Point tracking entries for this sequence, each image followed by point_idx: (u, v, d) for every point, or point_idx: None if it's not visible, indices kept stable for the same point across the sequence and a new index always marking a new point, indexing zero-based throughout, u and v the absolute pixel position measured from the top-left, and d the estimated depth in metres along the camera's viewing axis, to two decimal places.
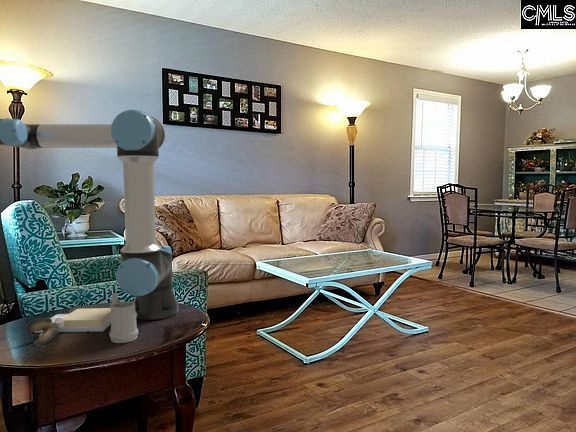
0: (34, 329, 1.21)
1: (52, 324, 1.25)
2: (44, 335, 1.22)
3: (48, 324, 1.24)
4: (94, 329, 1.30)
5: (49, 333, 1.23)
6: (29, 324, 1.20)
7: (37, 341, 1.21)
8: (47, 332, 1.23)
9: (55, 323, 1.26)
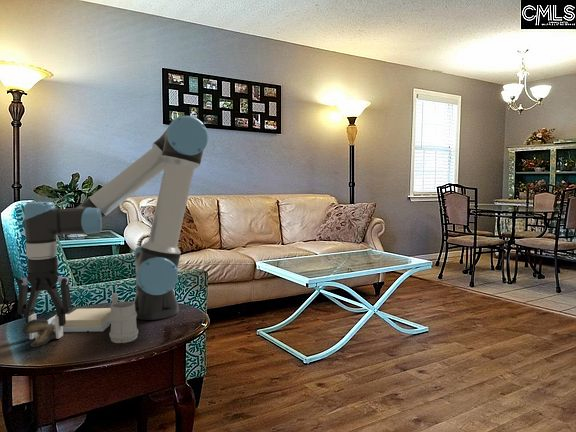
0: (30, 331, 1.20)
1: (49, 325, 1.24)
2: (41, 337, 1.20)
3: (45, 325, 1.23)
4: (94, 329, 1.30)
5: (46, 334, 1.21)
6: (26, 326, 1.19)
7: (34, 343, 1.19)
8: (44, 333, 1.21)
9: (52, 324, 1.24)
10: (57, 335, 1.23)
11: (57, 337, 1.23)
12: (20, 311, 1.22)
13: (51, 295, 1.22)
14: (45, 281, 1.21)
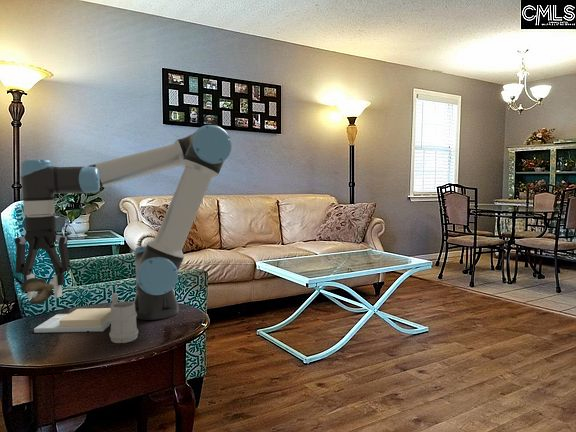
0: (29, 289, 1.19)
1: (47, 285, 1.23)
2: (39, 295, 1.19)
3: (43, 285, 1.22)
4: (94, 329, 1.30)
5: (45, 293, 1.20)
6: (24, 284, 1.18)
7: (32, 301, 1.18)
8: (42, 292, 1.20)
9: (50, 284, 1.24)
10: (56, 294, 1.22)
11: (56, 296, 1.22)
12: (18, 270, 1.21)
13: (49, 254, 1.21)
14: (43, 239, 1.20)
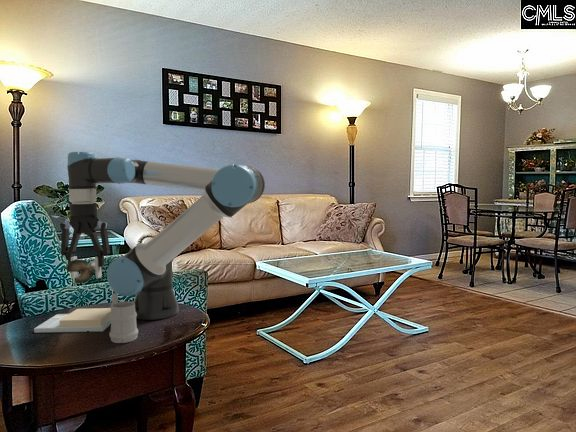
0: (73, 269, 1.31)
1: (89, 266, 1.35)
2: (83, 275, 1.31)
3: (85, 266, 1.34)
4: (94, 329, 1.30)
5: (87, 273, 1.32)
6: (69, 264, 1.30)
7: (77, 280, 1.30)
8: (85, 272, 1.32)
9: (91, 265, 1.35)
10: (97, 275, 1.34)
11: (97, 277, 1.34)
12: (63, 252, 1.33)
13: (91, 238, 1.33)
14: (86, 224, 1.32)
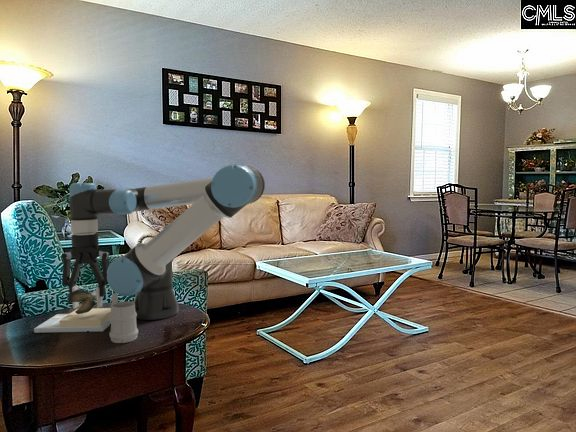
0: (75, 300, 1.32)
1: (90, 296, 1.36)
2: (84, 305, 1.32)
3: (87, 296, 1.35)
4: (94, 329, 1.30)
5: (88, 303, 1.33)
6: (71, 295, 1.31)
7: (78, 310, 1.31)
8: (86, 303, 1.33)
9: (92, 295, 1.36)
10: (98, 305, 1.35)
11: (98, 306, 1.35)
12: (64, 282, 1.34)
13: (93, 268, 1.34)
14: (88, 255, 1.33)
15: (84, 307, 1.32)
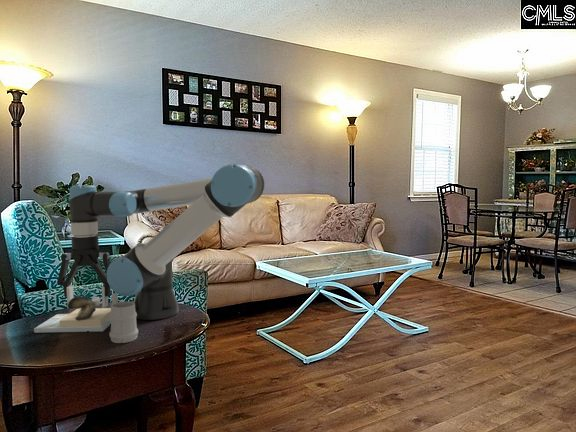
0: (75, 306, 1.32)
1: (90, 302, 1.36)
2: (84, 311, 1.32)
3: (86, 302, 1.35)
4: (94, 329, 1.30)
5: (88, 310, 1.33)
6: (70, 302, 1.31)
7: (78, 317, 1.31)
8: (86, 309, 1.33)
9: (92, 301, 1.36)
10: (103, 304, 1.35)
11: (103, 306, 1.35)
12: (59, 282, 1.34)
13: (95, 269, 1.34)
14: (88, 257, 1.33)
15: (84, 313, 1.32)
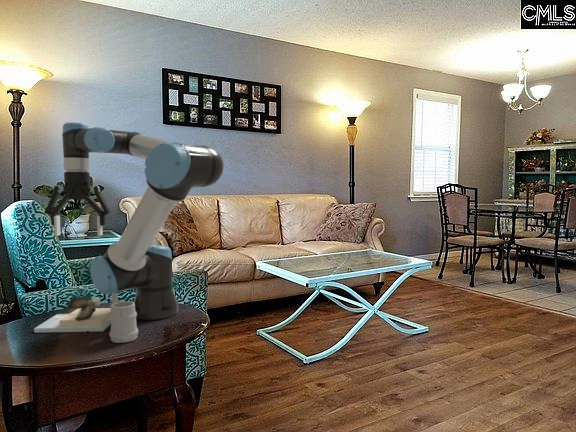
0: (75, 306, 1.31)
1: (90, 302, 1.35)
2: (84, 312, 1.32)
3: (86, 302, 1.35)
4: (94, 329, 1.30)
5: (88, 310, 1.33)
6: (70, 302, 1.30)
7: (78, 317, 1.31)
8: (86, 309, 1.33)
9: (92, 301, 1.36)
10: (98, 233, 1.45)
11: (98, 234, 1.45)
12: (47, 211, 1.43)
13: (89, 201, 1.44)
14: (80, 191, 1.42)
15: (84, 314, 1.31)
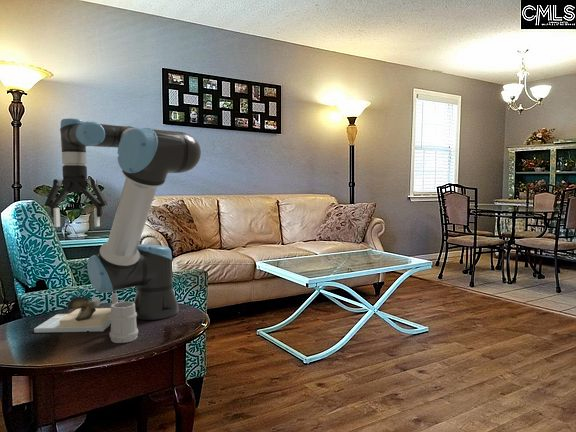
0: (75, 307, 1.31)
1: (90, 302, 1.35)
2: (84, 312, 1.32)
3: (86, 302, 1.34)
4: (94, 329, 1.30)
5: (88, 310, 1.33)
6: (70, 302, 1.30)
7: (78, 317, 1.31)
8: (86, 309, 1.33)
9: (92, 302, 1.36)
10: (95, 224, 1.51)
11: (95, 225, 1.51)
12: (47, 204, 1.50)
13: (86, 194, 1.50)
14: (77, 183, 1.49)
15: (84, 314, 1.31)
